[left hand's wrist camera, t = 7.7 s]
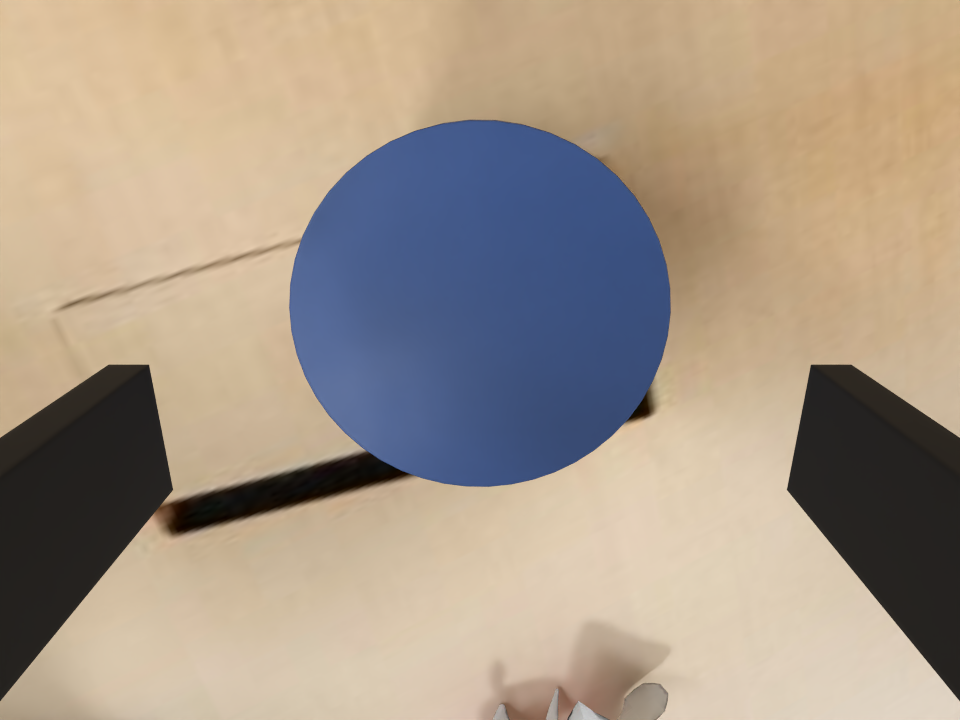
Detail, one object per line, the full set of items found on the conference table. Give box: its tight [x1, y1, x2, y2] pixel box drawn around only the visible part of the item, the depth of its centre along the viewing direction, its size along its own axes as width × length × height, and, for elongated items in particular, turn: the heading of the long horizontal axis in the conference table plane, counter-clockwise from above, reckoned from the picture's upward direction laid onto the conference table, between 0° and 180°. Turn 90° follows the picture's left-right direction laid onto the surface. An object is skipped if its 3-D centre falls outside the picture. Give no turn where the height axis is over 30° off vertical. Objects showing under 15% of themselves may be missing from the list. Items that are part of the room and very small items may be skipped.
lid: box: [289, 120, 671, 487], centre depth 20 cm, size 11×11×2 cm
